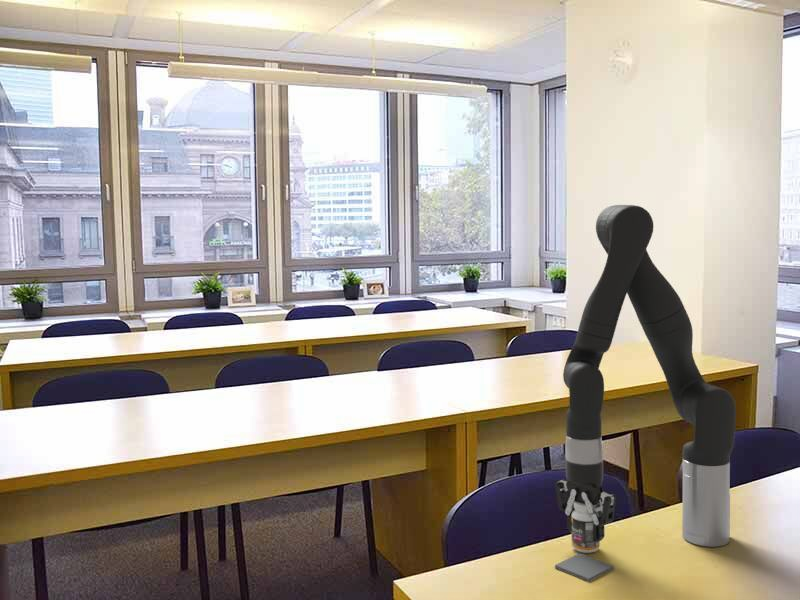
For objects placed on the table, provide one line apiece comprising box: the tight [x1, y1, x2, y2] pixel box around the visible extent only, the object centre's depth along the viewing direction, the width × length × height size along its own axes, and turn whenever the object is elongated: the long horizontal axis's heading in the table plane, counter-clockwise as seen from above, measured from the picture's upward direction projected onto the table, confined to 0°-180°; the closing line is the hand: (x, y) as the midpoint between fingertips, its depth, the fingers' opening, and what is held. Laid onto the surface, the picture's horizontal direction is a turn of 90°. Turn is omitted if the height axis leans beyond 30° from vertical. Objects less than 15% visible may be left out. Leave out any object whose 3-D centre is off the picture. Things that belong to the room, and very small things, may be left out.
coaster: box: [554, 552, 615, 582], centre depth 146 cm, size 8×8×1 cm
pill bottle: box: [571, 501, 601, 554], centre depth 154 cm, size 6×6×10 cm
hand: (585, 535), depth 154 cm, fingers closed on pill bottle, 5 cm apart
